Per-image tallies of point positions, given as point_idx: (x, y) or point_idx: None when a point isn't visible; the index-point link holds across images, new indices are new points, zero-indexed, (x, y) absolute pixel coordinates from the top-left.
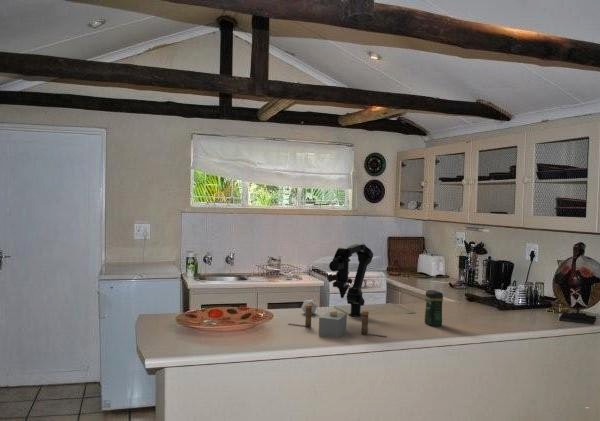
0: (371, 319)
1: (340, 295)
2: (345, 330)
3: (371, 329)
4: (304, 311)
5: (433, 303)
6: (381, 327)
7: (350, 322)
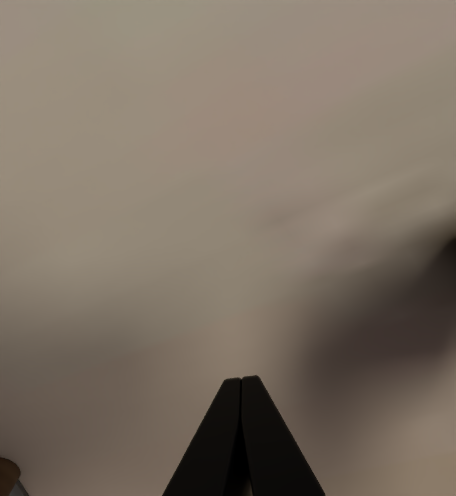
0: (404, 396)
1: (202, 423)
2: None
3: (129, 467)
4: None
5: None
6: None
7: (204, 314)
